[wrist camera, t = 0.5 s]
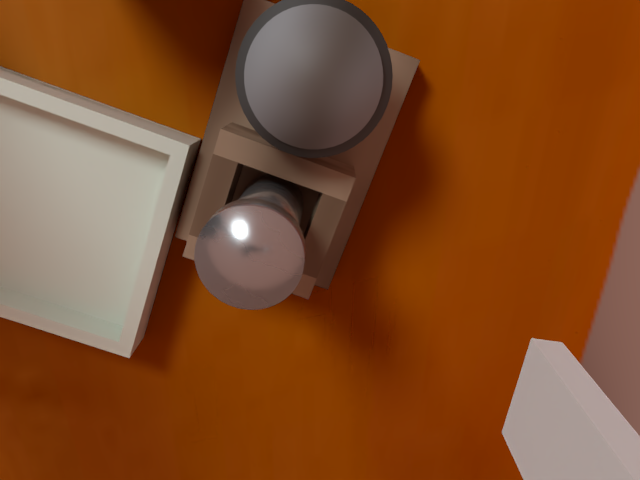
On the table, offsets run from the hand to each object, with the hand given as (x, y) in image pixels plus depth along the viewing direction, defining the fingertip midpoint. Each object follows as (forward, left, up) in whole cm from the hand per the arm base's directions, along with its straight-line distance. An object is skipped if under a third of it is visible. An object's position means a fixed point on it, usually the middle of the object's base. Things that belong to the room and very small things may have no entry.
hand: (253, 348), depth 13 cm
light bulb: (-1, -3, -23) cm, 23 cm away
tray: (-16, -9, -25) cm, 31 cm away
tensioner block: (-1, +1, -25) cm, 25 cm away
